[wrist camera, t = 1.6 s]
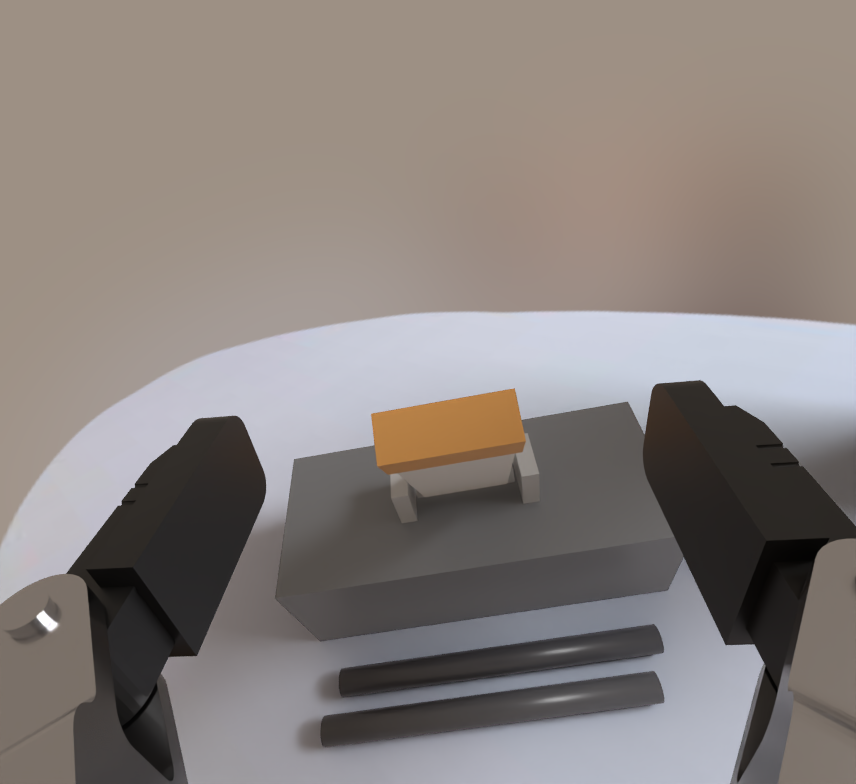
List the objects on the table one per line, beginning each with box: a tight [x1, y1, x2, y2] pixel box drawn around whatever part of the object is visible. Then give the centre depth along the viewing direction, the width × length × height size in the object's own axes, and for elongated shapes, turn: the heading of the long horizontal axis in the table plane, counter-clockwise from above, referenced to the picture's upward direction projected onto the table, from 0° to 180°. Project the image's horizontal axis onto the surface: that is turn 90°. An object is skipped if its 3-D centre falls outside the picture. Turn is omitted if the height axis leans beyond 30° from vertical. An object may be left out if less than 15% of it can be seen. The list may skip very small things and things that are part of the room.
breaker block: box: [275, 402, 684, 747], centre depth 31 cm, size 17×24×11 cm
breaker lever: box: [371, 388, 526, 498], centre depth 24 cm, size 2×6×14 cm, turn 96°
